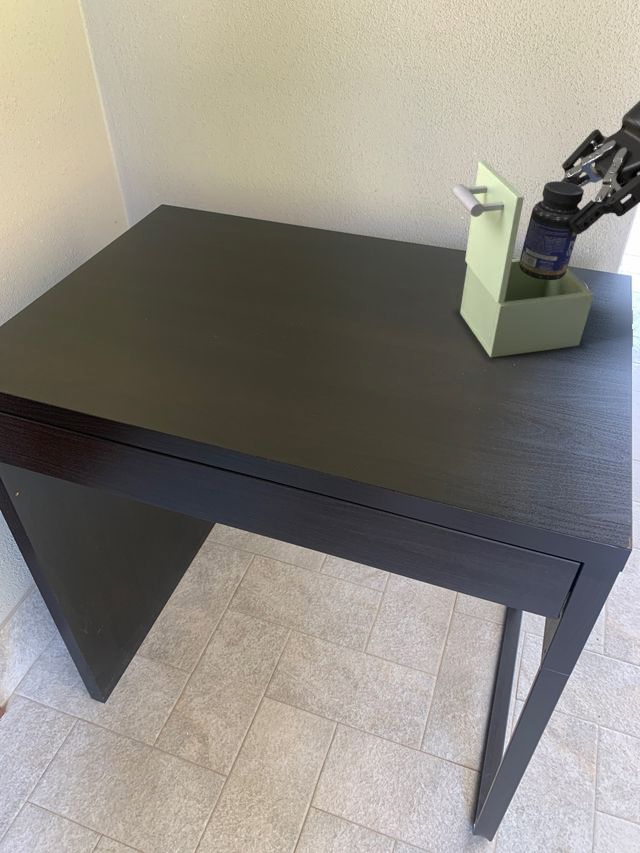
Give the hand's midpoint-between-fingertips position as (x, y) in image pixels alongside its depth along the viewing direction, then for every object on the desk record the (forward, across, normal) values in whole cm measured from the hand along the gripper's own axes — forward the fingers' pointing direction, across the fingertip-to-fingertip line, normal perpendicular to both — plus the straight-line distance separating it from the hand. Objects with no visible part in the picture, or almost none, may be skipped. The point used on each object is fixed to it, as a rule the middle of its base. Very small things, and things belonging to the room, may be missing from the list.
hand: (559, 217), depth 85 cm
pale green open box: (+13, 0, +10) cm, 16 cm away
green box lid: (+7, 0, -5) cm, 9 cm away
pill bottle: (+6, 0, +4) cm, 8 cm away
